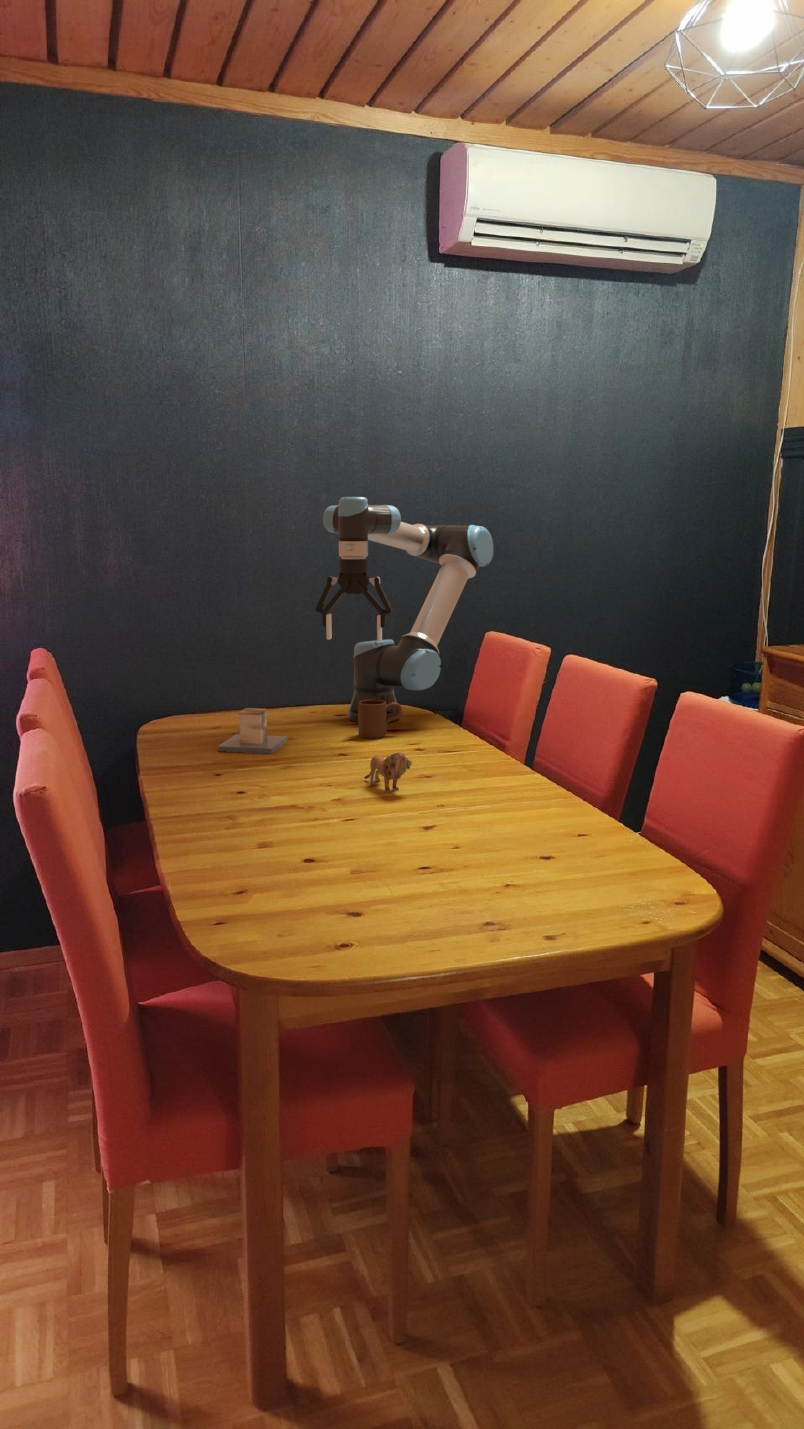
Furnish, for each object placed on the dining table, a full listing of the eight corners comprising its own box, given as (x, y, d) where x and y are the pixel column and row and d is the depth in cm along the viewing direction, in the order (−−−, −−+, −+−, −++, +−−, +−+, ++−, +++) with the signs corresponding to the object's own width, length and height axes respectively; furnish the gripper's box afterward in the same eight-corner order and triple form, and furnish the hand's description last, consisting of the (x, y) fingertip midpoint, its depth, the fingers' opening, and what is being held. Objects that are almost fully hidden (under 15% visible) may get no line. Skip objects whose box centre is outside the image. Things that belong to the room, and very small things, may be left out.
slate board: (236, 739, 257) (236, 734, 256) (287, 741, 255) (287, 736, 254) (218, 751, 243) (218, 746, 243) (271, 754, 241) (271, 748, 241)
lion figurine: (415, 792, 208) (415, 752, 206) (396, 797, 205) (396, 756, 203) (373, 778, 219) (373, 740, 217) (354, 782, 216) (354, 743, 214)
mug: (399, 731, 266) (399, 698, 265) (404, 737, 259) (405, 703, 257) (356, 733, 264) (356, 700, 262) (360, 739, 257) (360, 705, 255)
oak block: (246, 738, 252) (245, 708, 250) (267, 739, 251) (266, 708, 249) (239, 743, 246) (238, 712, 245) (260, 744, 246) (260, 713, 244)
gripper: (302, 558, 247) (304, 640, 252) (398, 559, 243) (398, 642, 248) (310, 556, 255) (312, 636, 259) (403, 557, 250) (403, 638, 255)
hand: (354, 639), depth 253 cm, fingers open, 13 cm apart
